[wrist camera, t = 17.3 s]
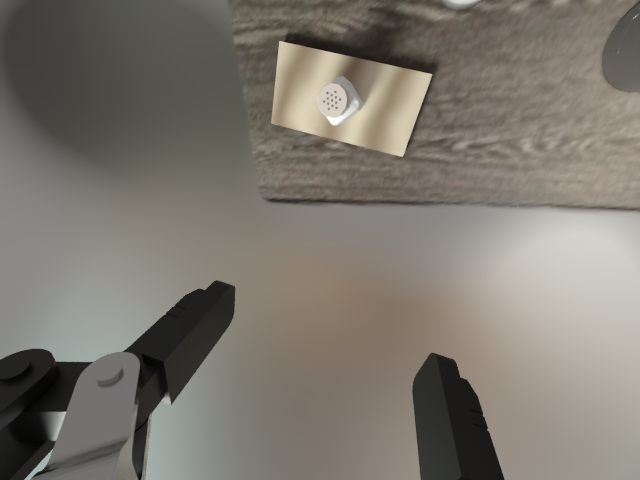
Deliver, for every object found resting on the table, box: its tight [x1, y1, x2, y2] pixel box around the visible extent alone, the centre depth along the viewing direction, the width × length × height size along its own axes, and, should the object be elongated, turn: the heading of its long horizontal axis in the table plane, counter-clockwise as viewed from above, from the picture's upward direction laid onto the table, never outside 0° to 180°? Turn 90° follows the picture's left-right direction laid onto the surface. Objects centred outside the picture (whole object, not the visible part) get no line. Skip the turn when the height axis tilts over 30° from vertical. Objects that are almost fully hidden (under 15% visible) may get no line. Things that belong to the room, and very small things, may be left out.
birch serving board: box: [271, 41, 432, 157], centre depth 35 cm, size 20×10×2 cm, turn 79°
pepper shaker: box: [317, 76, 363, 126], centre depth 30 cm, size 4×4×10 cm
